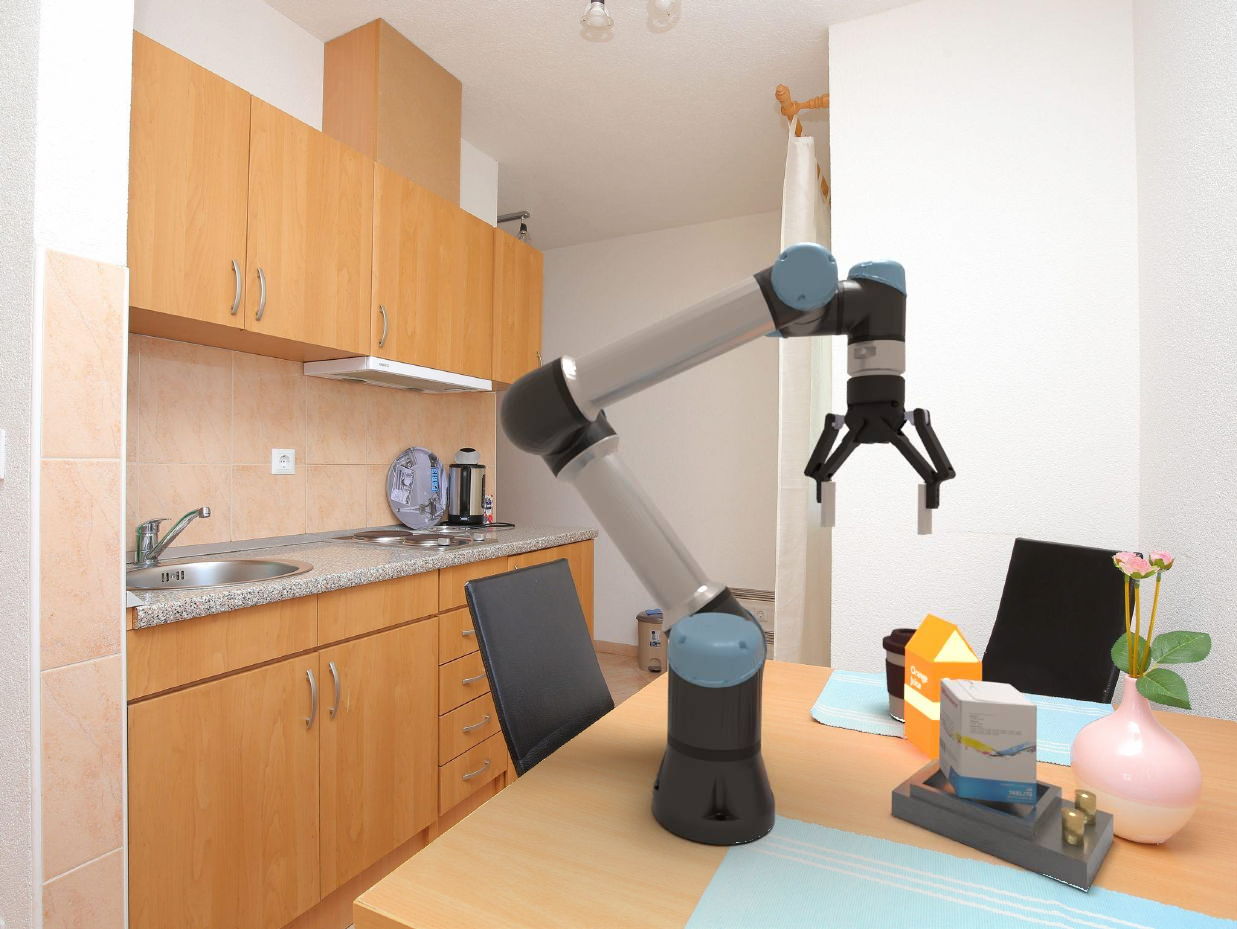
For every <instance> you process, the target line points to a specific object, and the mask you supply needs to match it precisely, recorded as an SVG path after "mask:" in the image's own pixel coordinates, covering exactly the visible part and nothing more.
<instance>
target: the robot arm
mask: <svg viewBox="0 0 1237 929" xmlns="http://www.w3.org/2000/svg"><path fill="white" fill-rule="evenodd" d="M836 260H837V259H836V258H835V256H834V255H833V254H832V252H831V251H830V250H829V249H827V248H826V247H825V246H823V245H821V244H819V243H816V242H811V241H803V242H798V243H795V244H793V245H791V246H788V247H787V248H786V249H784V250H783V251H782V253H781V254H780V255H779V256H778V257H777V259H776V260H775V262H774V264H773V265H771V266H769V267H766V268H764V269H762V270H760V271H758V272H756V273H755V274H752V275H751V276H749V277H746V278H744V279H741V280H739V281H738V282H736V283H733V284H731V285H730V286H727V287H725V288H723V289H721V290H718V291H717V292H715V293H713V294H710V295H708V296H706V297H704V298H702V299H700V300H696V301H695V302H693V303H691V304H689V305H687V306H684V307H683V308H680V309H678V310H677V311H674V312H672V313H670V314H668V315H665V316H663V317H662V318H659V319H657V320H655V321H653V322H651V323H648V324H647V325H644V326H642V327H639V328H638V329H636V330H633V331H632V332H629V333H627V334H625V335H622V336H621V337H619V338H617V339H615V340H611V341H610V342H608V343H606V344H604V345H602V346H599V347H597V348H594V350H591V351H589V352H587V353H585V354H583V355H581V356H578V357H572V356H570V355H567V354H564V355H562V356H560V357H558V358H556V359H554V360H551V361H550V362H548V363H545V364H542V365H541V366H538V367H537V368H535V369H533V370H531V371H529V372H527V373H525V374H523V375H522V376H520V377H519V378H517V379H516V380H515V381H514V382H512V383H511V385H510V386H509V387H508V388H507V389H506V391H505V393H504V395H503V397H502V399H501V402H500V407H499V419H500V420H499V421H500V425H501V429H502V431H503V432H504V434H505V437H506V438H507V439H508V440H509V441H510V443H511V444H512V445H514V447H516V448H517V449H519V450H520V451H522V452H524V453H526V454H531V455H534V456H540V457H541V458H542V460H543V461H544V463H545V464H546V466H547V467H548V468H549V469H550V471H551V473H552V474H553V476H554V478H556V480H557V482H562V483H568V484H571V485H573V487H574V488H575V490H576V492H578V494H579V495H580V497H581V499H582V500H583V501H584V503H585V505H586V506H587V507H588V508H589V510H590V511H591V513H592V514H593V516H594V517H595V519H596V520H597V521H598V523H599V524H600V526H601V527H602V529H603V530H604V532H605V533H606V534H607V535H608V538H610V540H611V541H612V543H613V544H614V546H615V547H616V548H617V550H618V551H619V553H620V554H621V555H622V557H623V558H624V560H625V561H626V563H627V564H628V565H629V567H630V568H631V570H632V571H633V573H634V574H635V576H636V577H637V579H638V580H639V581H640V583H641V585H642V586H643V588H644V589H645V590H646V591H647V593H648V594H649V596H650V597H651V598H652V600H653V601H654V603H655V604H656V605H657V607H658V609H659V610H660V611H661V613H662V625H661V631H662V633H663V634H664V635H665V637H666V638H667V640H668V643H667V646H666V654H667V662H668V663H667V664H668V669H667V722H666V725H667V726H666V727H667V731H666V732H667V734H666V735H667V737H666V747H665V750H664V753H663V756H662V760H661V762H660V765H659V768H658V771H657V775H656V779H654V782H653V786H652V794H651V798H652V799H651V800H652V801H651V809H652V813H653V816H654V817H655V819H656V820H657V822H658V823H659V824H660V825H661V826H662V827H663V828H665V829H667V830H668V831H670V832H671V833H673V834H676V835H677V836H679V837H682V838H685V839H688V840H691V841H695V842H700V843H704V844H711V845H734V844H733V843H736V842H745V841H749V842H751V841H750V840H752V839H755V840H757V839H756V838H758V837H759V836H762V835H763V834H764V833H766V832H767V831H768V830H769V829H770V828H771V827H772V826H773V827H774V825H775V824H774V823H775V820H776V802H775V800H776V799H775V795H774V793H773V790H772V787H771V783H770V781H769V777H768V774H767V773H768V772H767V769H766V766H765V763H764V759H763V755H762V714H763V706H762V704H763V681H764V679H763V678H764V670H765V664H766V661H767V654H768V644H767V637H766V634H765V630H764V628H763V626H762V624H761V623H760V621H759V620H758V618H757V617H756V616H755V615H754V614H753V613H752V612H751V611H750V610H749V609H747V608H746V607H745V606H743V605H742V604H741V603H740V602H739V600H738V599H737V598H736V596H735V595H734V594H733V592H732V591H731V590H730V589H729V587H728V586H727V584H725V583H723V582H719V581H718V582H717V581H715V580H711V579H710V578H709V577H708V575H707V574H706V573H705V571H704V570H703V568H702V566H701V565H700V564H699V563H698V561H697V560H696V559H695V557H694V556H693V554H692V553H691V551H690V550H689V549H688V547H687V546H686V545H685V542H683V541H682V539H681V538H680V536H679V535H678V534H677V532H676V531H675V529H674V528H673V526H672V525H671V524H670V522H669V521H668V520H667V518H666V517H665V516H664V514H663V513H662V512H661V510H660V509H659V507H658V506H657V504H656V502H655V501H654V500H653V499H652V497H651V496H650V495H649V493H648V492H647V491H646V489H645V488H644V486H643V484H641V482H640V481H639V480H638V478H637V477H636V475H635V474H634V473H633V471H632V470H631V468H630V467H629V465H628V464H627V462H626V461H625V460H624V459H623V457H622V456H621V455H620V452H619V445H620V444H619V443H620V437H619V435H618V434H617V432H616V431H615V429H614V428H613V426H612V425H611V424H610V422H609V421H608V418H607V414H606V412H605V409H606V408H607V407H610V406H612V405H614V404H616V403H618V402H620V401H622V400H625V399H627V398H630V397H632V396H634V395H635V394H638V393H640V392H642V391H645V390H647V389H649V388H651V387H653V386H655V385H658V384H660V383H663V382H665V381H667V380H670V379H672V378H673V377H676V376H678V375H680V374H682V373H685V372H687V371H689V370H691V369H693V368H695V367H698V366H700V365H703V364H704V363H707V362H709V361H711V360H714V359H715V358H718V357H720V356H723V355H724V354H727V353H729V352H732V351H733V350H735V349H739V348H740V347H742V346H744V345H746V344H748V343H751V342H753V341H755V340H757V339H758V340H759V338H760V339H761V338H762V337H766V338H782V339H788V338H803V337H828V336H847V337H846V338H847V342H846V343H847V345H846V346H847V347H846V348H847V349H846V350H847V354H846V355H847V356H846V358H847V360H846V362H847V363H846V364H847V365H846V374H847V375H848V376H849V377H850V378H848V379H847V381H846V406H847V409H846V413H845V414H838V413H831V412H827V413H826V415H824V416H825V417H824V424H823V429H822V432H821V434H820V435H819V438H818V440H817V442H816V445H815V447H814V449H813V451H812V453H811V454H810V455H811V456H810V458H809V460H808V462H807V464H806V465H805V468H804V471H803V474H804V476H805V477H808V478H811V479H814V481H815V482H816V485H815V487H816V490H815V493H816V497H815V498H816V503H817V504H821V505H820V508H821V510H820V527H821V528H832V527H836V483H837V482H836V481H832V480H833V479H832V478H833V477H834V476H835V474H836V473H837V472H838V470H839V469H840V468H841V467H842V466H843V465H844V463H845V461H846V460H848V458H849V457H850V455H851V454H853V452H854V451H855V449H857V448H858V447H860V445H861V444H863V445H874V444H881V445H885V444H886V445H889V444H890V443H891V445H893V447H895V448H896V449H897V451H899V453H900V455H901V456H903V457H904V458H905V460H906V461H907V462H908V463H909V464H910V466H911V467H912V469H914V470H915V471H916V473H917V475H919V476H920V478H921V479H922V480H923V483H918V484H917V535H920V536H926V535H927V536H928V535H932V533H933V532H932V531H933V529H932V528H933V510H938V509H939V507H940V501H941V499H940V495H941V494H940V493H941V492H940V491H941V490H940V488H941V484H942V483H943V482H945V481H949V480H954V479H955V478H956V476H957V473H956V470H955V469H954V467H953V465H952V464H951V461H950V459H949V457H948V456H947V454H946V452H945V450H944V448H943V446H942V443H941V442H940V440H939V438H938V436H937V434H936V432H935V430H934V428H933V426H932V422H931V412H930V410H928V409H926V408H922V407H916V408H914V409H913V410H909V411H906V408H905V402H906V378H904V377H903V376H902V375H903V374H905V372H906V328H907V326H906V324H907V298H908V294H907V283H906V270H905V268H904V266H903V265H902V263H900V262H897V261H896V260H891V259H872V260H869V261H862V262H859V263H856V264H854V265H853V266H852V267H851V268H850V269H849V270H848V274H847V277H846V279H841V280H839V269H838V264H837V261H836ZM908 421H909V423H910V425H911V426H913V427H915V431H916V433H917V435H918V437H919V439H920V440H921V443H922V445H923V447H924V449H925V450H926V454H928V456H929V458H930V461H931V463H932V465H933V466H934V468H935V469H934V468H933V466H932V465H931V464H930V462H928V461H927V460H926V458H925V457H924V456H923V455H922V454H921V453H920V452H919V450H918V449H917V448H916V447H915V445H914V444H913V443H912V442H911V441H910V438H909V437H908V436H907V435H906V434H905V433H904V431H903V430H902V429H903V427H904V426H905V425H906V423H907V422H908ZM844 425H845V426H846V427H847V429H848V431H847V432H846V434H844V436H843V437H842V439H841V441H840V443H839V444H838V446H837V447H836V448H835V450H834V451H833V452H832V453H831V450H832V449H833V446H834V445H835V444H834V443H835V441H836V440H837V438H838V436H839V434H840V431H841V430H842V429H843V427H844ZM830 453H831V455H830ZM829 455H830V456H829ZM773 824H774V825H773ZM773 827H772V828H773ZM772 828H771V829H772ZM771 829H770V830H771ZM767 833H768V832H767ZM767 833H766V834H767ZM763 836H764V835H763ZM763 836H762V837H763ZM758 839H759V838H758ZM752 841H753V840H752ZM745 843H746V842H745Z"/></svg>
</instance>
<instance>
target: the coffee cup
mask: <svg viewBox="0 0 1237 929" xmlns="http://www.w3.org/2000/svg"><path fill="white" fill-rule="evenodd" d="M917 629H918V628H917ZM917 629H916V628H906V627H905V628H901V627H900V628H894V629H893V630H892V631H891V633H890V635H885V636H883V637H882V648H883V649H884V650H885V655H886V658H885V659H884V660H885V677H886V690H887V693H888V700H889V701H888V704H889V714H890V713H891V714H892V715H893V716H895V717H898V718H899V719H903V720H905V699H904V696H905V647H906V645H907V644H908V642H909V641H910V639H911V638H912V636H913V635H914V634H915V632H916V631H917ZM891 714H890V715H891Z"/></svg>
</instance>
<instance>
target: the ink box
mask: <svg viewBox="0 0 1237 929" xmlns="http://www.w3.org/2000/svg"><path fill="white" fill-rule="evenodd" d="M1037 712H1038V706H1037V705H1036V704H1034V702H1032V701H1031V700H1030V699H1029V698H1028V697H1026V696H1025V695H1024V694H1022V692H1020V691H1019V690H1017V689H1016V687H1014V686H1012V685H1011V684H1010V683H1001V682H993V681H983V680H982V681H973V680H963V679H957V680H947V679H940V727H939V767H940V769H941V770H942V772H943V773H944V775H945V776H946V778H947V779H948V781H949V782H950V784H951V786H952V787H953V788H954V790H955V792H956V793H957V795H958V796H959V797H963V798H971V799H981V800H990V801H999V802H1009V803H1019V804H1029V805H1036V780H1038V779H1037V775H1038V774H1037V766H1038V765H1037V764H1038V763H1037V753H1038V752H1037V750H1038V749H1037V746H1038V744H1037V738H1038V737H1037V736H1038V735H1037V734H1038V733H1037V727H1038V726H1037V725H1038V722H1037V720H1038V718H1037V717H1038V716H1037V715H1038V714H1037Z"/></svg>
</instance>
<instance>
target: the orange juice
mask: <svg viewBox="0 0 1237 929" xmlns="http://www.w3.org/2000/svg"><path fill="white" fill-rule="evenodd" d="M940 679H947V680H957V679H963V680H973V681H983V662H981V661H980V659H979V657H978V656H977V654H976V653H975V651H974V650H973V649H972V647H971V645H970V644H969V642H968V641H967V639H966V637H965V636H964V634H962V631H961V629H959V628H958V625H956V624H954V623H952V622H949V621H947V620H945V619H942V618H940V617H938V616H935V615H933V614H930V613H927V615H926V617H925V618H924V619H923V621H922V622H921V623H920V625H919V627H918V628H917V631H916V632H915V634H914V635H913V636H912V638H911V639H910V641H909V642H908V644H907V645H906V647H905V696H904V699H905V723H904V729H903V730H904V734H905V736H906V737H907V738H906V737H905V736H904V737H905V738H906V739H907V740H908V741H909V742H910V743H912V744H913V745H914V746H915V747H916V748H917V749H919V751H921V752H922V753H923V754H924V755H925V756H926V757H928V758H929V759H930V760H931V761H932V760H933V759H934V758H936V759H939V727H940Z"/></svg>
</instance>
